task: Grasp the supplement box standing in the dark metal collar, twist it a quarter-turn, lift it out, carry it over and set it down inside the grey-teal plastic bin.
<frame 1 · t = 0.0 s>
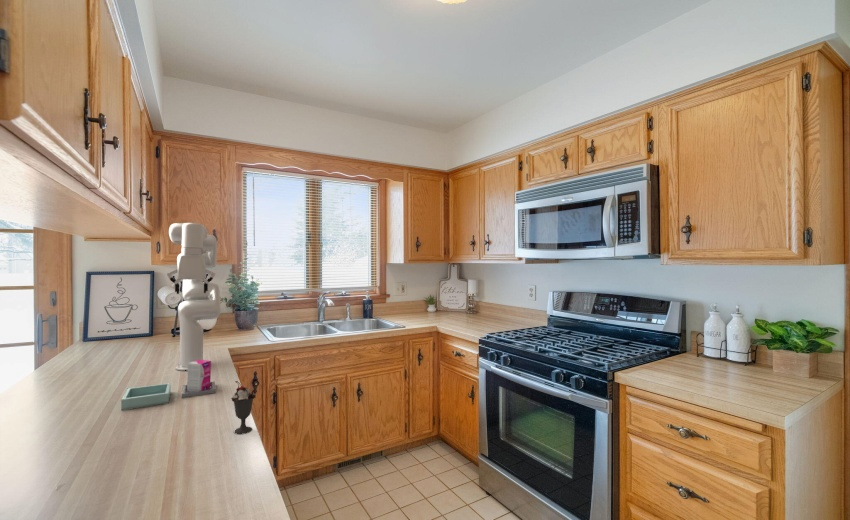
hand: (191, 293, 162), 37 cm above the countertop, tool pointing down, fingers open, 9 cm apart
bin: (147, 400, 139), on the countertop
supplement box: (198, 391, 150), resting in collar
collar: (198, 391, 150), on the countertop
sundae: (242, 431, 116), on the countertop
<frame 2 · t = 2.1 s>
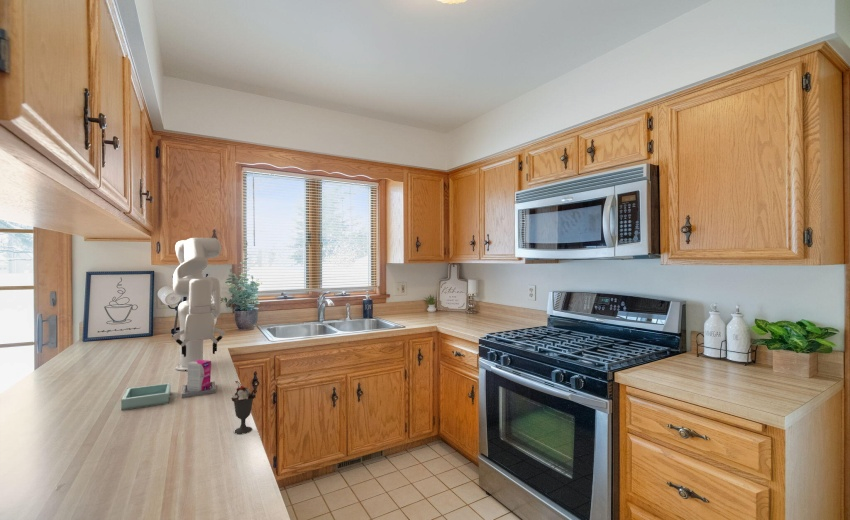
hand: (199, 354, 150), 14 cm above the countertop, tool pointing down, fingers open, 9 cm apart
nothing on the countertop moved.
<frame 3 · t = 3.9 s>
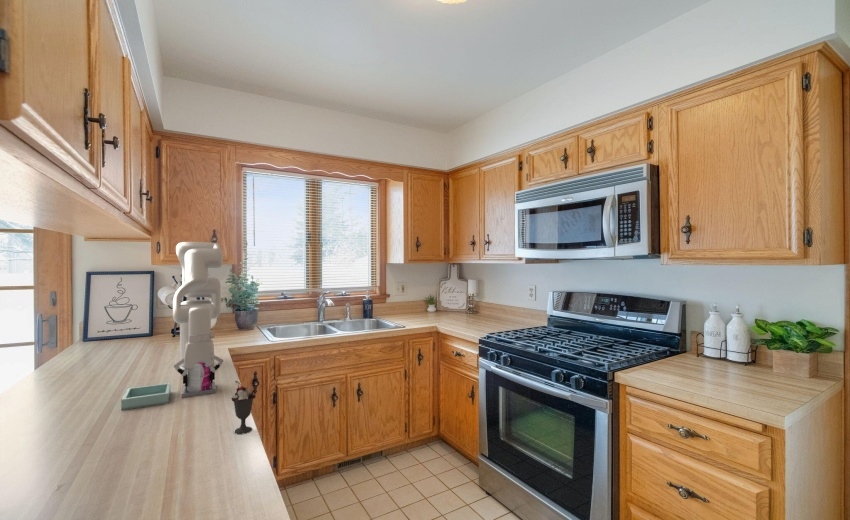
hand: (199, 383, 150), 3 cm above the countertop, tool pointing down, fingers closed on supplement box, 8 cm apart
supplement box: (198, 391, 150), resting in collar, touching gripper
everything else where it was.
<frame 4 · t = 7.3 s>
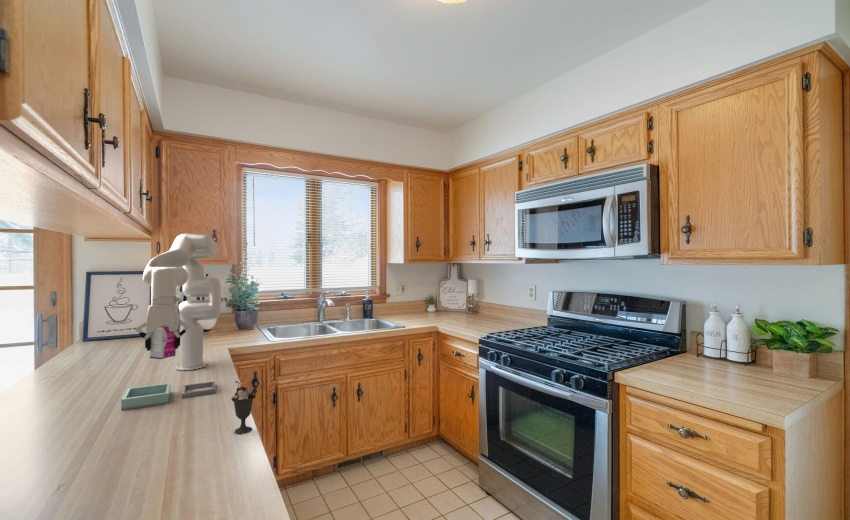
hand: (163, 348, 142), 18 cm above the countertop, tool pointing down, fingers closed on supplement box, 8 cm apart
supplement box: (163, 357, 142), point 15 cm above the countertop, touching gripper
everything else where it was.
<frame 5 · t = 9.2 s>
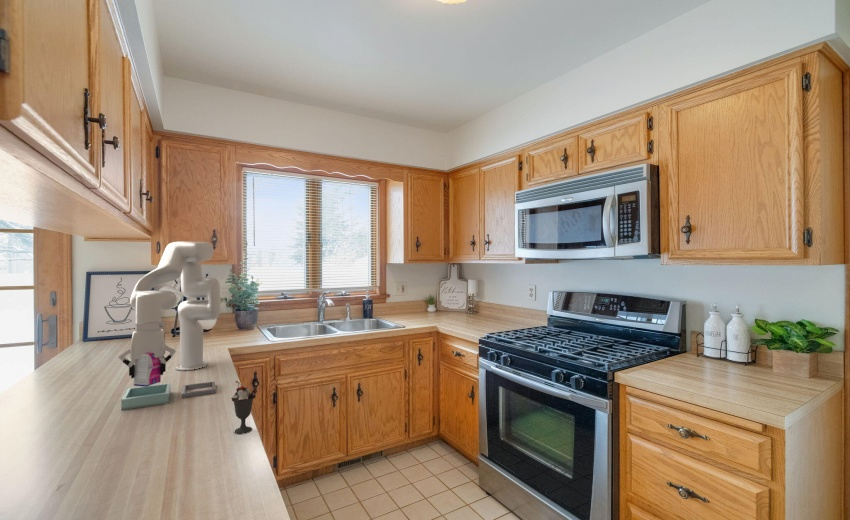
hand: (147, 375, 139), 9 cm above the countertop, tool pointing down, fingers closed on supplement box, 8 cm apart
supplement box: (147, 384, 139), point 6 cm above the countertop, touching gripper
everything else where it was.
when the fingers open (5 cm above the countertop, at t = 11.0 s): supplement box drops 2 cm, resting on bin.
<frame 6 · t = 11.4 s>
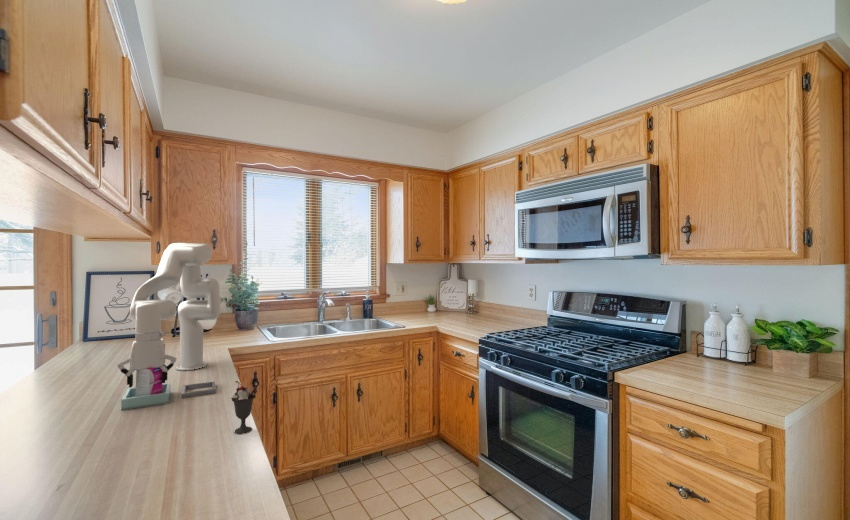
hand: (147, 384, 139), 6 cm above the countertop, tool pointing down, fingers open, 9 cm apart
supplement box: (149, 399, 140), resting on bin
everything else where it was.
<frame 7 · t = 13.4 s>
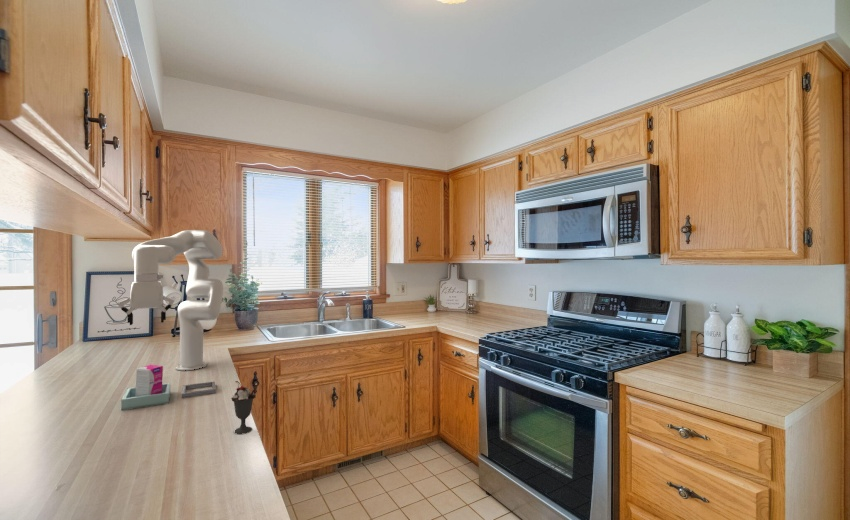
hand: (147, 323, 147), 27 cm above the countertop, tool pointing down, fingers open, 9 cm apart
nothing on the countertop moved.
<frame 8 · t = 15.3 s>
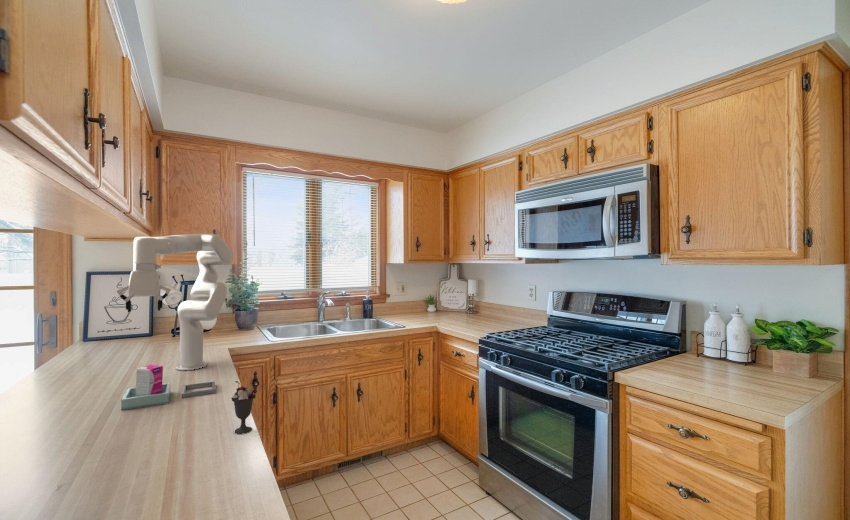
hand: (144, 310, 154), 30 cm above the countertop, tool pointing down, fingers open, 9 cm apart
nothing on the countertop moved.
at the end: supplement box inside the target area on the bin (0.4 cm from its centre), point 0.4 cm above the bin's base; supplement box tilted 0°; the gripper is holding nothing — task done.
